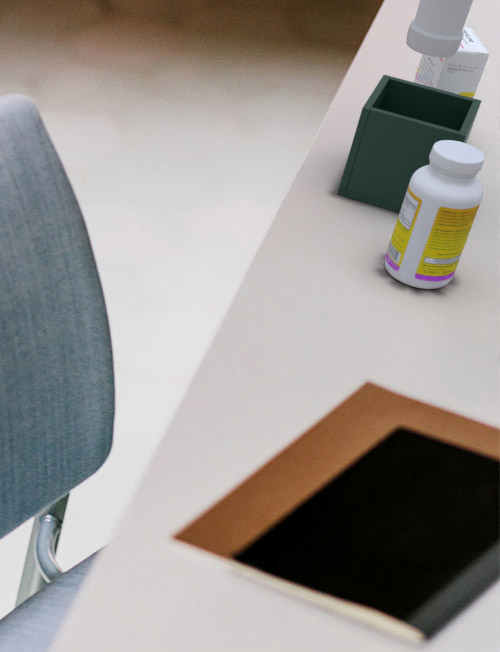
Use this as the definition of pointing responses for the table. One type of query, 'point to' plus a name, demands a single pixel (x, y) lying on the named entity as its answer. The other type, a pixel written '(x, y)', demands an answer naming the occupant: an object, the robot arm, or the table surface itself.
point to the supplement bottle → (436, 216)
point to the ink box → (455, 67)
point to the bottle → (438, 27)
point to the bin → (401, 138)
